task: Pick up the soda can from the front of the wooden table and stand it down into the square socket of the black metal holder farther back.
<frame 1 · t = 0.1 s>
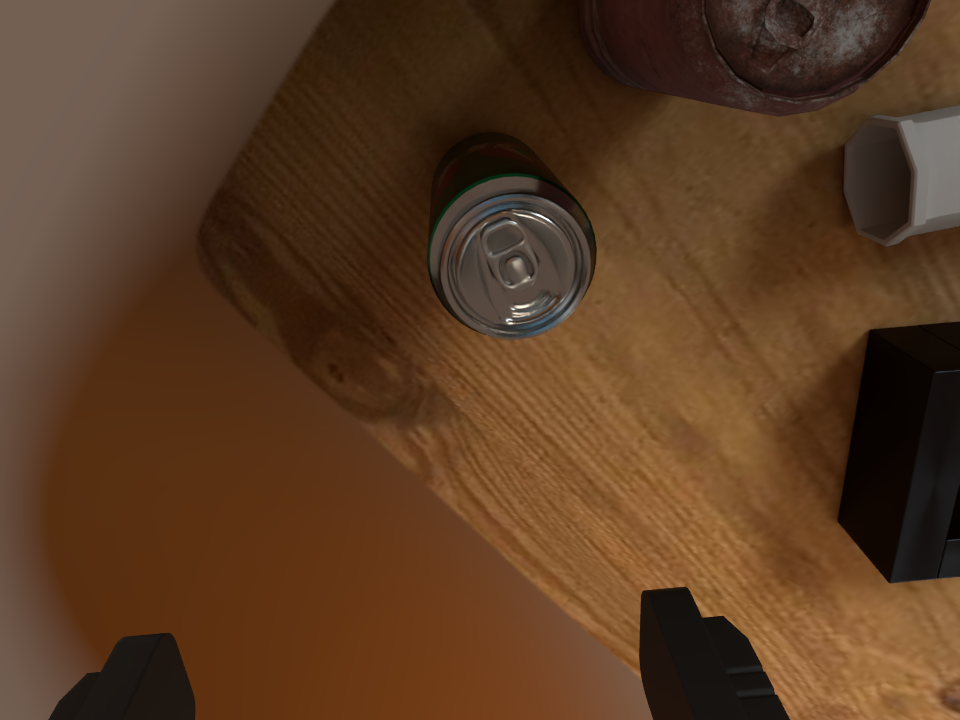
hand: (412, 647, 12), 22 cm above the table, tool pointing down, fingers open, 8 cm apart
soda can: (488, 190, 31), on the table
can: (649, 3, 28), on the table
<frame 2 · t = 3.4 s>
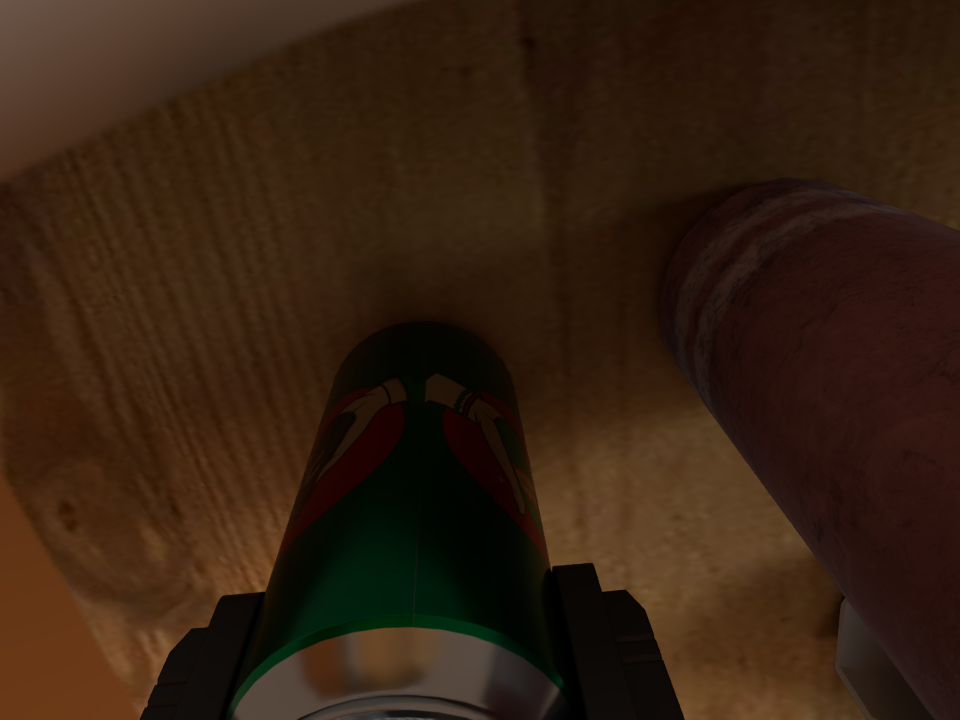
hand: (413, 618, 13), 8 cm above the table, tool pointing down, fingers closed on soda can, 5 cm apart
soda can: (424, 393, 20), on the table, touching gripper
can: (764, 282, 19), on the table
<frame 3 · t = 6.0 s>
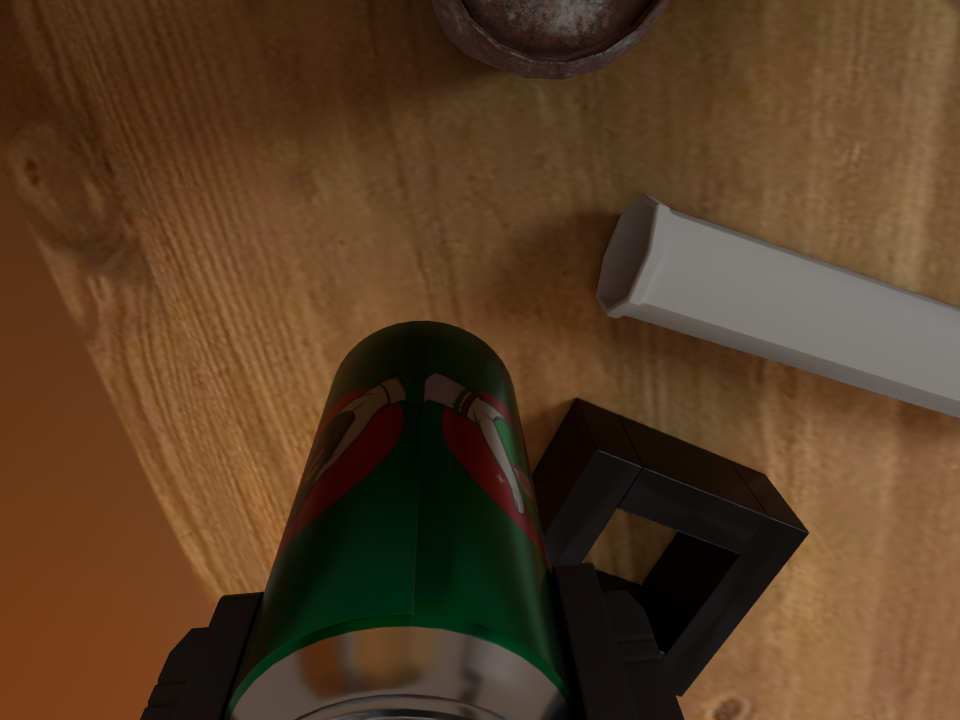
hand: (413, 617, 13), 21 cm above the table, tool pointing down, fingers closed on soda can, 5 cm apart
holder: (619, 521, 39), on the table
soda can: (424, 393, 20), point 13 cm above the table, touching gripper
tube: (843, 314, 34), on the table
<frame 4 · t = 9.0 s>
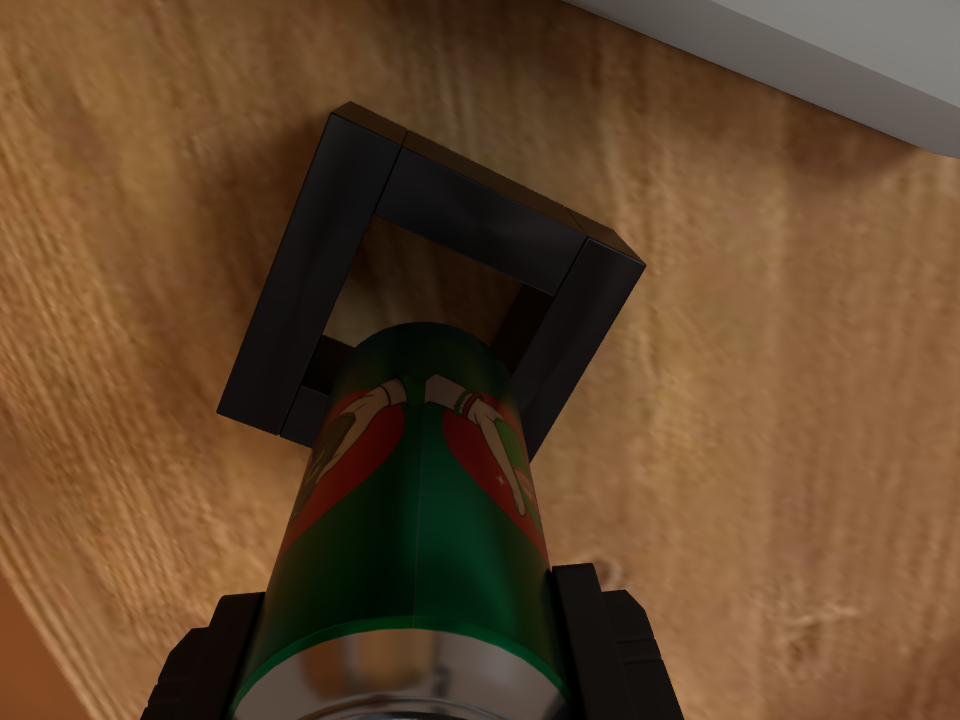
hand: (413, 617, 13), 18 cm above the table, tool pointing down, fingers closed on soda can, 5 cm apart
holder: (427, 296, 30), on the table
soda can: (424, 394, 20), point 10 cm above the table, touching gripper
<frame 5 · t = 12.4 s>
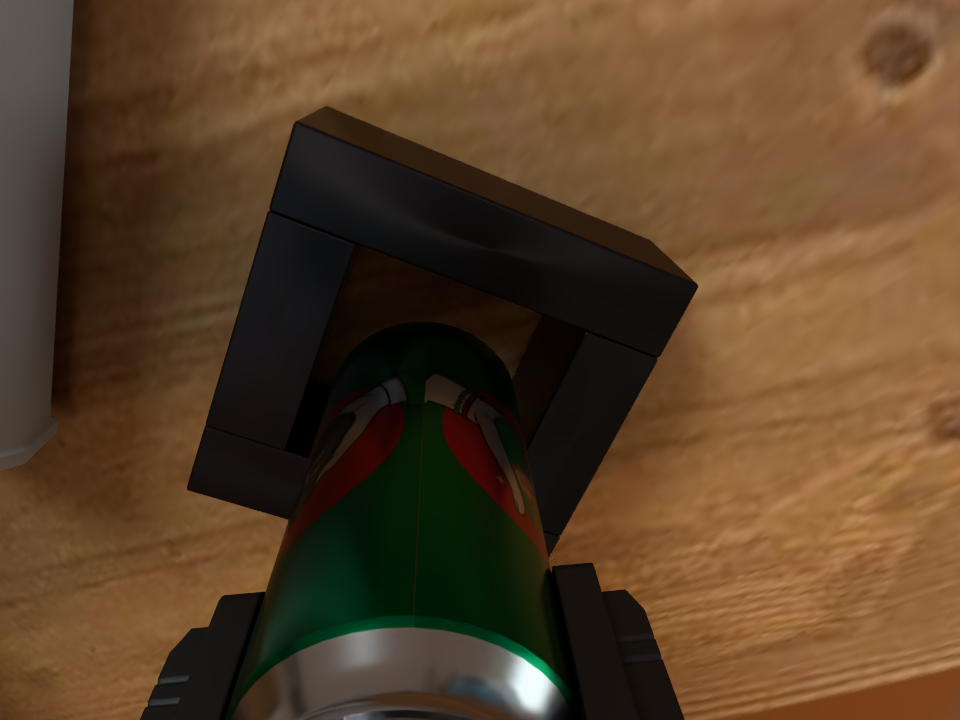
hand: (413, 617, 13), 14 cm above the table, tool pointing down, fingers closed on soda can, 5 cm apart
holder: (433, 330, 25), on the table
soda can: (424, 393, 20), point 5 cm above the table, touching gripper
tube: (11, 32, 21), on the table
when the fingers open (8 cm above the table, at t = 14.9 s): soda can stays where it is, resting in holder.
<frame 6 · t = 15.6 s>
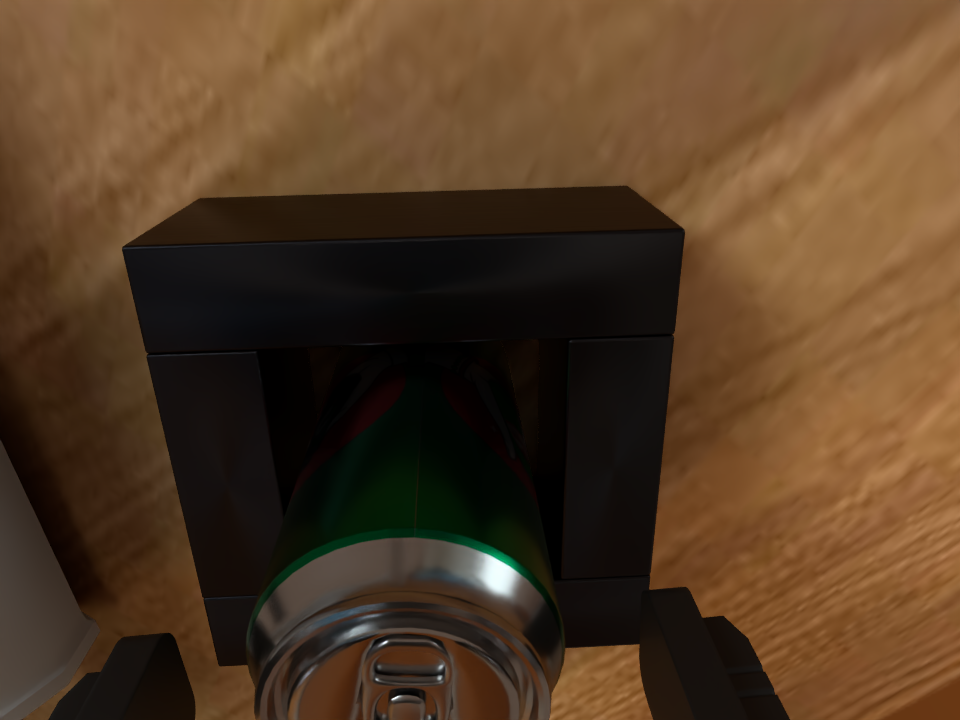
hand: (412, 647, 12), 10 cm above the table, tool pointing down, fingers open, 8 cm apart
holder: (426, 384, 21), on the table
soda can: (424, 367, 21), resting in holder
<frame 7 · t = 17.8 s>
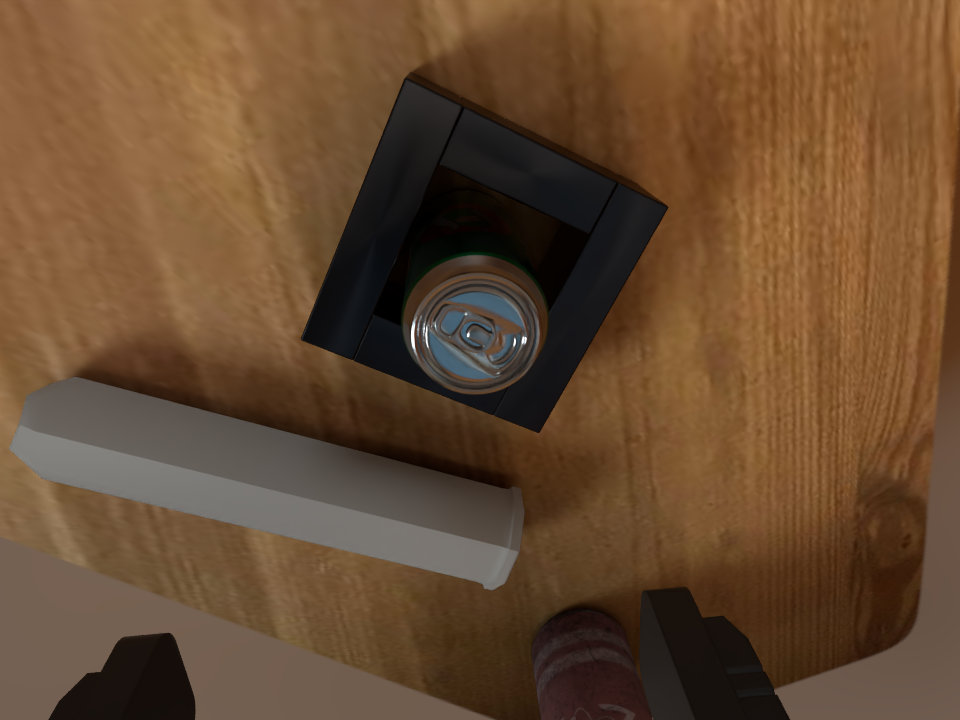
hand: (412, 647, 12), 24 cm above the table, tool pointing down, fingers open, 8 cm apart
holder: (474, 244, 34), on the table
soda can: (464, 239, 34), resting in holder
tube: (288, 455, 38), on the table
can: (576, 640, 45), on the table
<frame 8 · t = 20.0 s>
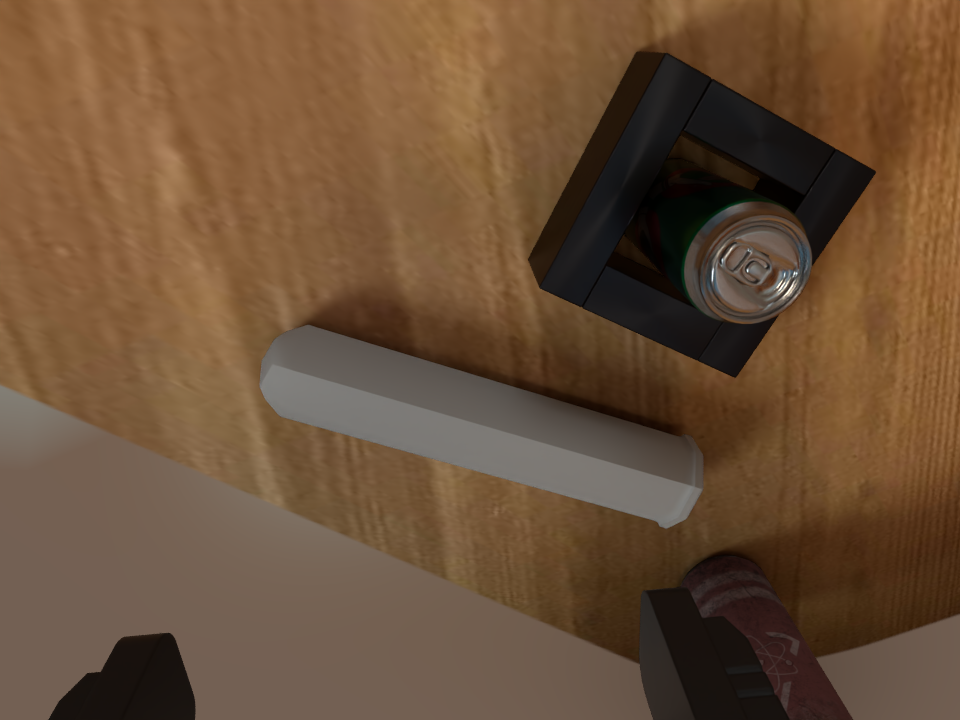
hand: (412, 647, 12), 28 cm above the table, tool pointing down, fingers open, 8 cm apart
holder: (672, 209, 38), on the table
soda can: (663, 205, 38), resting in holder
tube: (479, 404, 42), on the table
can: (717, 586, 49), on the table
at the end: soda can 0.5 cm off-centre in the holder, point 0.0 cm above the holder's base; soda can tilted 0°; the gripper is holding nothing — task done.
